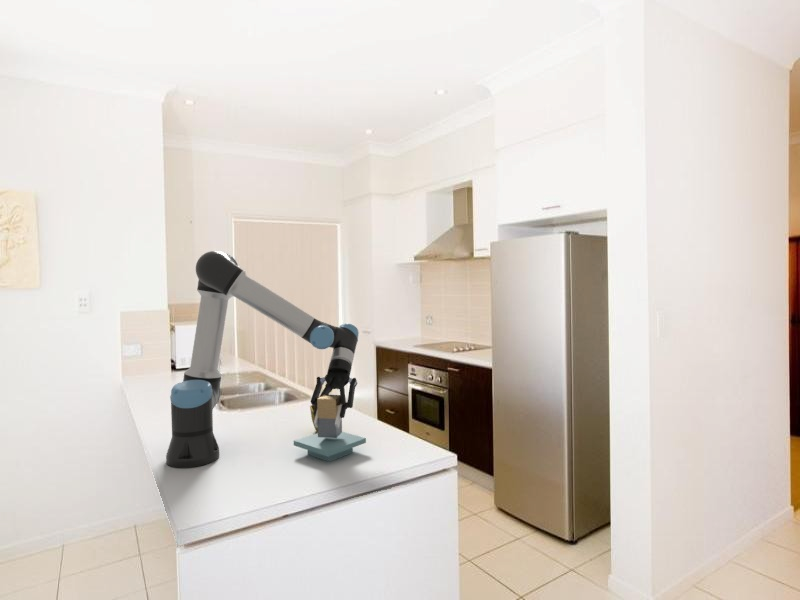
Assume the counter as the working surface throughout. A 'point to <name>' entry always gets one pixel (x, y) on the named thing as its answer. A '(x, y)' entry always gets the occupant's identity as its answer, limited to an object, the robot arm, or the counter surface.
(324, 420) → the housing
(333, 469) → the counter surface
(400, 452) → the counter surface
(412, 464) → the counter surface
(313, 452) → the teal stand
